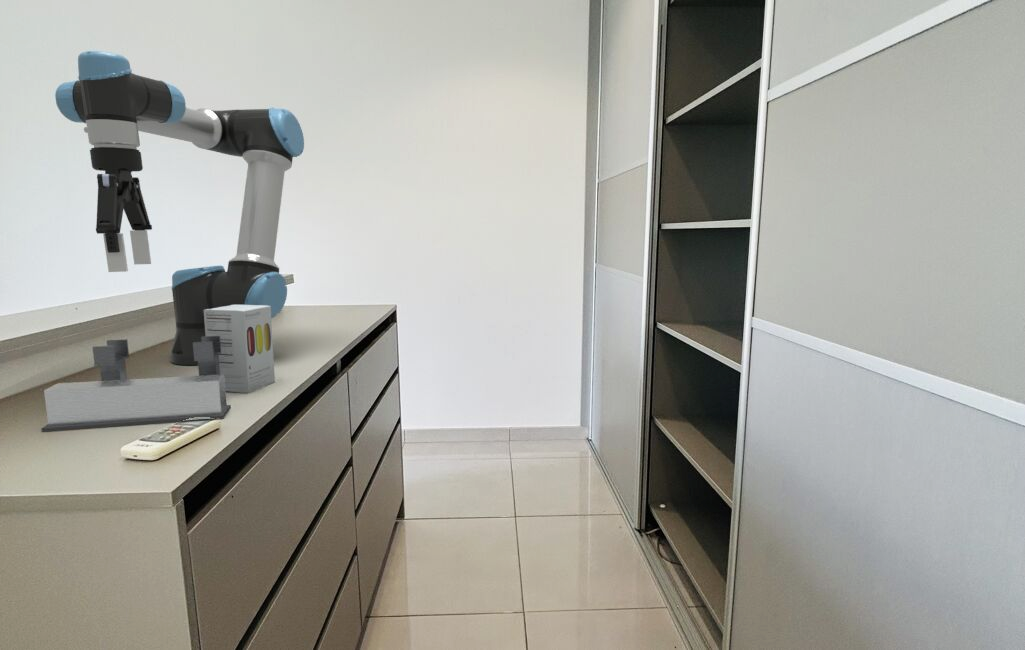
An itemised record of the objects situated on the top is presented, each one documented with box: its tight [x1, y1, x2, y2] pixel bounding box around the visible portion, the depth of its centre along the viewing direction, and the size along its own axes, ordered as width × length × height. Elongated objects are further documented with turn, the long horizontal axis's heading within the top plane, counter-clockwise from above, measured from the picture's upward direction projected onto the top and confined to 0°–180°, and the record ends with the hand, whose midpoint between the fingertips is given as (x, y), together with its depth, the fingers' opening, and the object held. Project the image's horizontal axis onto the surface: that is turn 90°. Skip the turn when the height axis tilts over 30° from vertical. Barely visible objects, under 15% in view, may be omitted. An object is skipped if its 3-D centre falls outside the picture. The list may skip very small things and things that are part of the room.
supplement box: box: [204, 305, 276, 394], centre depth 121 cm, size 10×9×17 cm
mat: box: [41, 404, 232, 433], centre depth 101 cm, size 6×27×1 cm, turn 105°
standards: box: [92, 336, 221, 381], centre depth 109 cm, size 7×20×12 cm, turn 105°
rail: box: [43, 374, 228, 426], centre depth 100 cm, size 4×26×6 cm, turn 105°
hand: (131, 267), depth 107 cm, fingers open, 13 cm apart
